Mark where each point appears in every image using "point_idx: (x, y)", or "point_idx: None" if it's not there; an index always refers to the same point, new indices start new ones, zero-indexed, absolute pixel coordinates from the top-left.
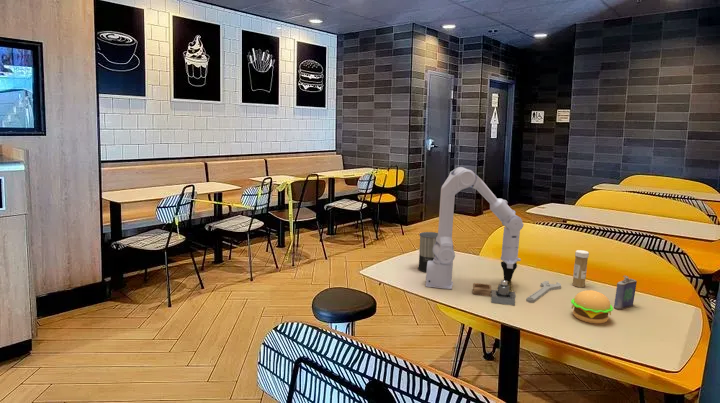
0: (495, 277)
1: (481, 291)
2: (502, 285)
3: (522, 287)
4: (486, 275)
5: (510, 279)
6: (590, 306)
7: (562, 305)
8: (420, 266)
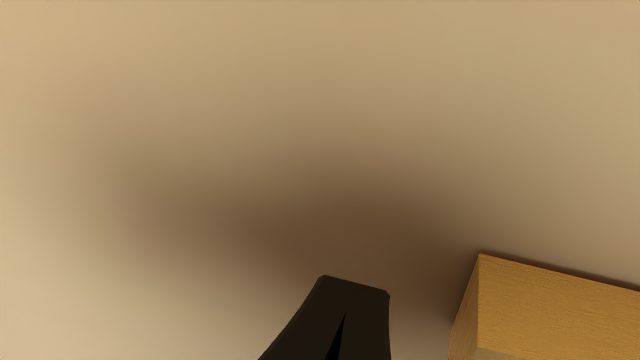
0: (45, 288)
1: None
2: None
3: (406, 20)
4: (27, 351)
5: (386, 342)
6: None
7: None
8: None
